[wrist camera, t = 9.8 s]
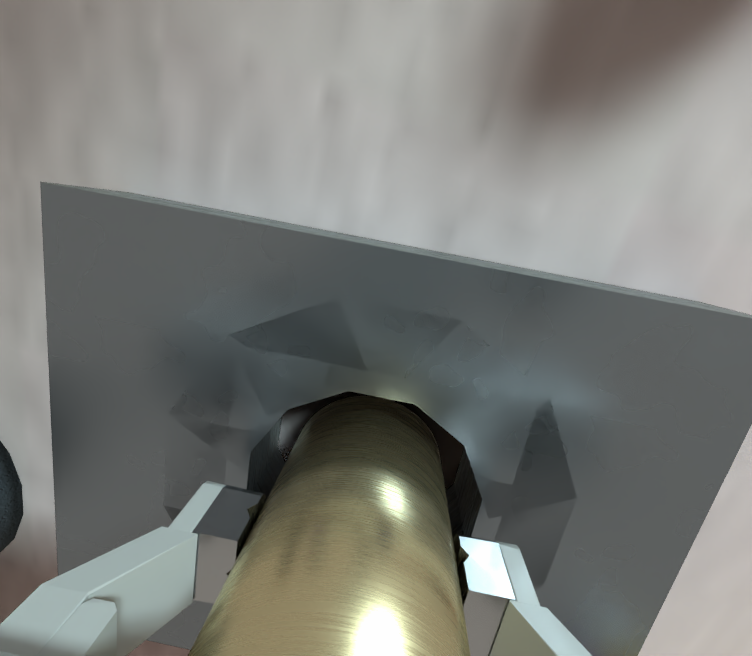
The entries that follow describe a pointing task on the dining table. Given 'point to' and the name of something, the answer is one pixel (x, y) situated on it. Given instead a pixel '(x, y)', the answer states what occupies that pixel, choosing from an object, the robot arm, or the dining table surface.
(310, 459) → the gold rounded cylinder
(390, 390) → the jig
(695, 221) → the dining table surface
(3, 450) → the dark grey flared cylinder
